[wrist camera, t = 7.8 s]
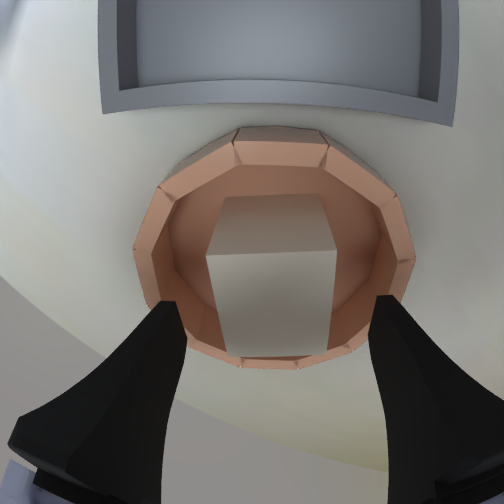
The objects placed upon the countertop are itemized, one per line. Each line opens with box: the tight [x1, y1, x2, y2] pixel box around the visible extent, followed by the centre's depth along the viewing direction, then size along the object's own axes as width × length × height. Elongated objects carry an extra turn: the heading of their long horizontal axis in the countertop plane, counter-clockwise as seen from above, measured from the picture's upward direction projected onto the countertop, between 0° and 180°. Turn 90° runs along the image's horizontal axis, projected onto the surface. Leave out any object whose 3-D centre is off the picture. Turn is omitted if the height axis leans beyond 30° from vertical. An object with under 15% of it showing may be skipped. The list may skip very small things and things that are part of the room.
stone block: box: [206, 193, 337, 357], centre depth 13 cm, size 4×5×4 cm
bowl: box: [133, 126, 416, 369], centre depth 14 cm, size 12×12×3 cm
